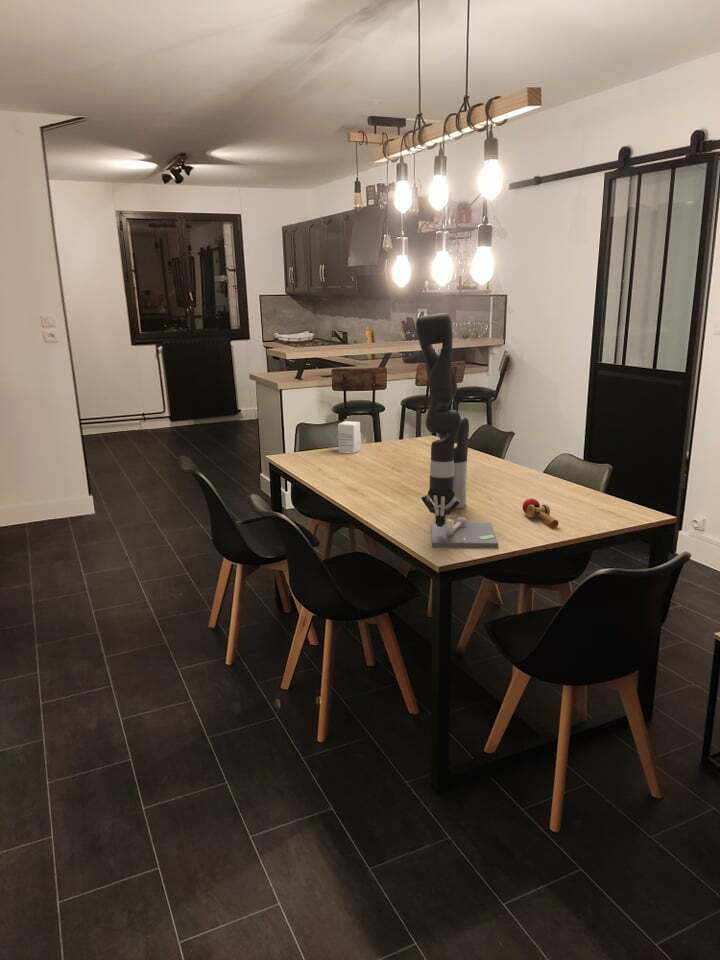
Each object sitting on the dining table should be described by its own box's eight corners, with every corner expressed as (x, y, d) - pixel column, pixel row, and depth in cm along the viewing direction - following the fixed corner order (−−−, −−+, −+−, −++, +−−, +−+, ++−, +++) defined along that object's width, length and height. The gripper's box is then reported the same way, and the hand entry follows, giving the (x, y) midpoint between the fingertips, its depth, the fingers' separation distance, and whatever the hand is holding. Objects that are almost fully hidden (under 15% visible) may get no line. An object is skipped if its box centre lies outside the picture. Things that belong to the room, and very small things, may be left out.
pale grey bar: (458, 522, 225) (458, 509, 224) (467, 523, 224) (467, 510, 223) (443, 534, 214) (444, 521, 212) (452, 536, 212) (453, 522, 211)
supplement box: (345, 449, 348) (344, 420, 344) (361, 450, 344) (360, 421, 341) (338, 453, 340) (337, 423, 336) (354, 454, 336) (353, 424, 333)
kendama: (565, 530, 225) (537, 508, 241) (565, 513, 222) (536, 492, 238) (545, 536, 224) (517, 513, 239) (544, 520, 221) (517, 498, 237)
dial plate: (430, 526, 227) (430, 521, 227) (490, 526, 226) (491, 521, 225) (432, 547, 208) (432, 542, 208) (498, 547, 207) (498, 542, 206)
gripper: (417, 474, 210) (416, 526, 214) (458, 478, 204) (456, 532, 209) (425, 468, 216) (424, 519, 221) (465, 472, 211) (463, 525, 215)
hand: (440, 526), depth 215 cm, fingers closed
